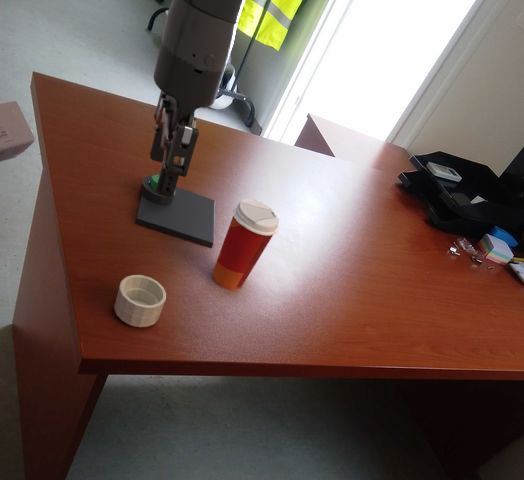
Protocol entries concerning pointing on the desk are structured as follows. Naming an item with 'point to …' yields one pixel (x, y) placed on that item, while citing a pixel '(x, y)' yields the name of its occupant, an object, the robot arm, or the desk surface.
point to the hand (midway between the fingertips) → (160, 176)
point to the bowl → (139, 300)
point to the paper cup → (244, 242)
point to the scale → (177, 214)
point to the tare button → (154, 181)
